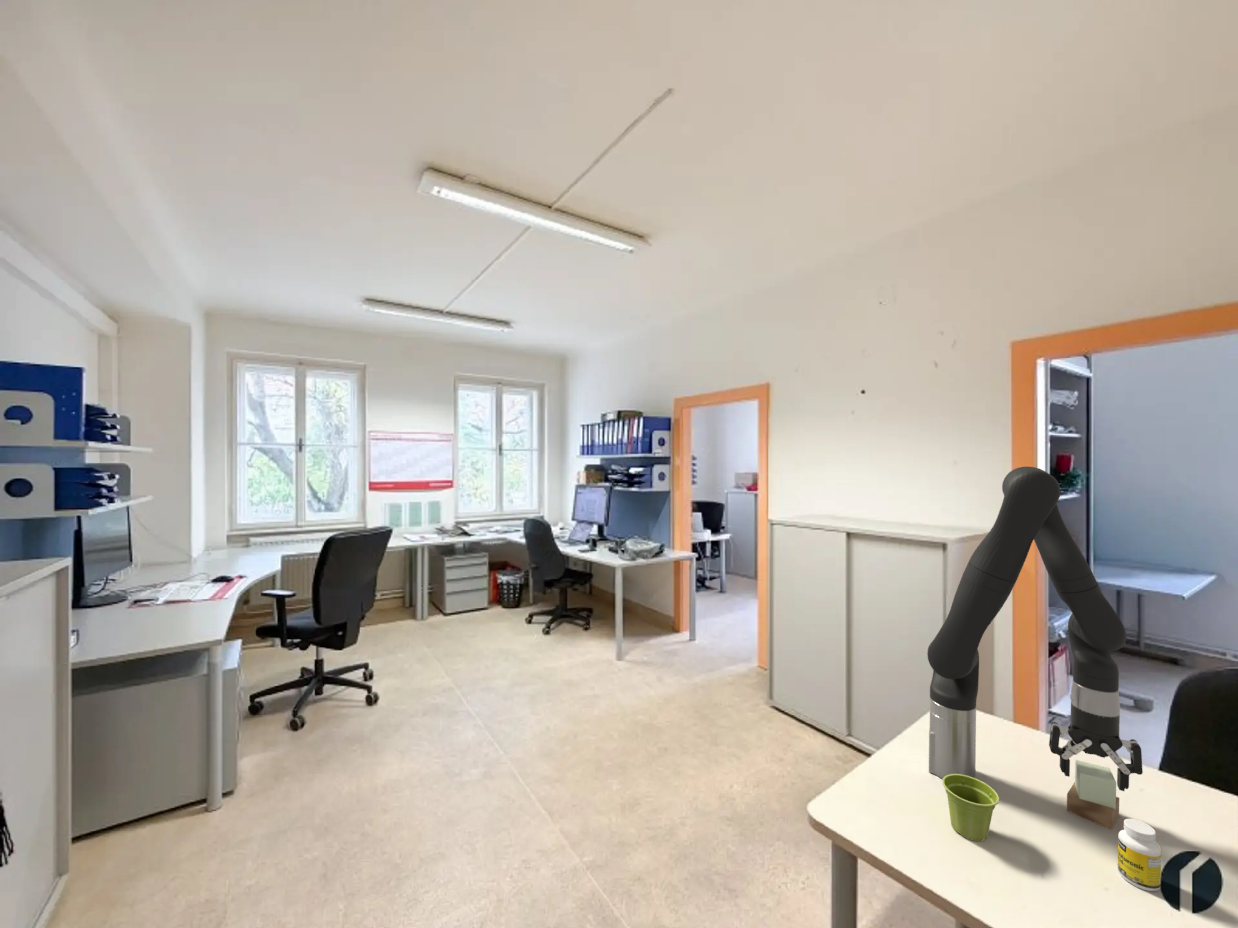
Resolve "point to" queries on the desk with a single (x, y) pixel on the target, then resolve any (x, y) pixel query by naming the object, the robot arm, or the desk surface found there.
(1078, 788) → the sage cube
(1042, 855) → the desk surface
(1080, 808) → the walnut block
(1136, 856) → the supplement bottle
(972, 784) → the plant pot
